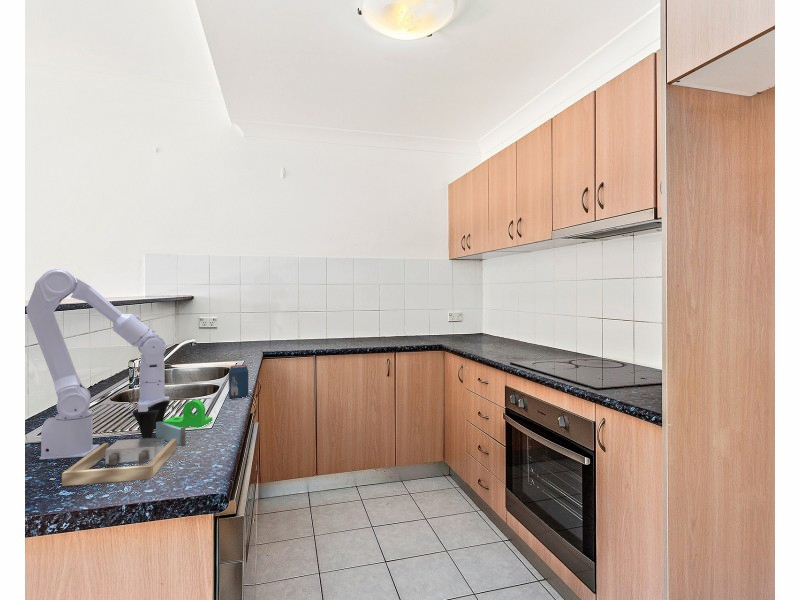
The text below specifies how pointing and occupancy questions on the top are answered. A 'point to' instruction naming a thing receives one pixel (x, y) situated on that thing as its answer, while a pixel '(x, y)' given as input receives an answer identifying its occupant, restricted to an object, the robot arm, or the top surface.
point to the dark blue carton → (238, 381)
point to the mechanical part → (191, 416)
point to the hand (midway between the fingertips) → (152, 433)
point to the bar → (168, 432)
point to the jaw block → (134, 449)
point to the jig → (84, 476)
